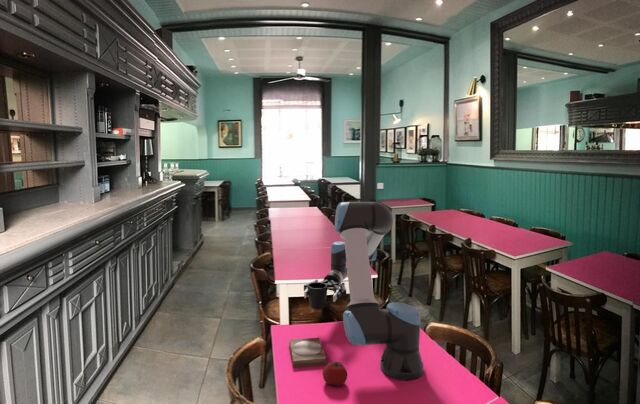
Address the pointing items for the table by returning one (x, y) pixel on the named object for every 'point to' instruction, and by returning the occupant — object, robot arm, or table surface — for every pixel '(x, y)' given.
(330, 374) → the tomato
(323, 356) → the wooden coaster block
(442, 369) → the table surface
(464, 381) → the table surface
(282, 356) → the table surface
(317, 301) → the mug
